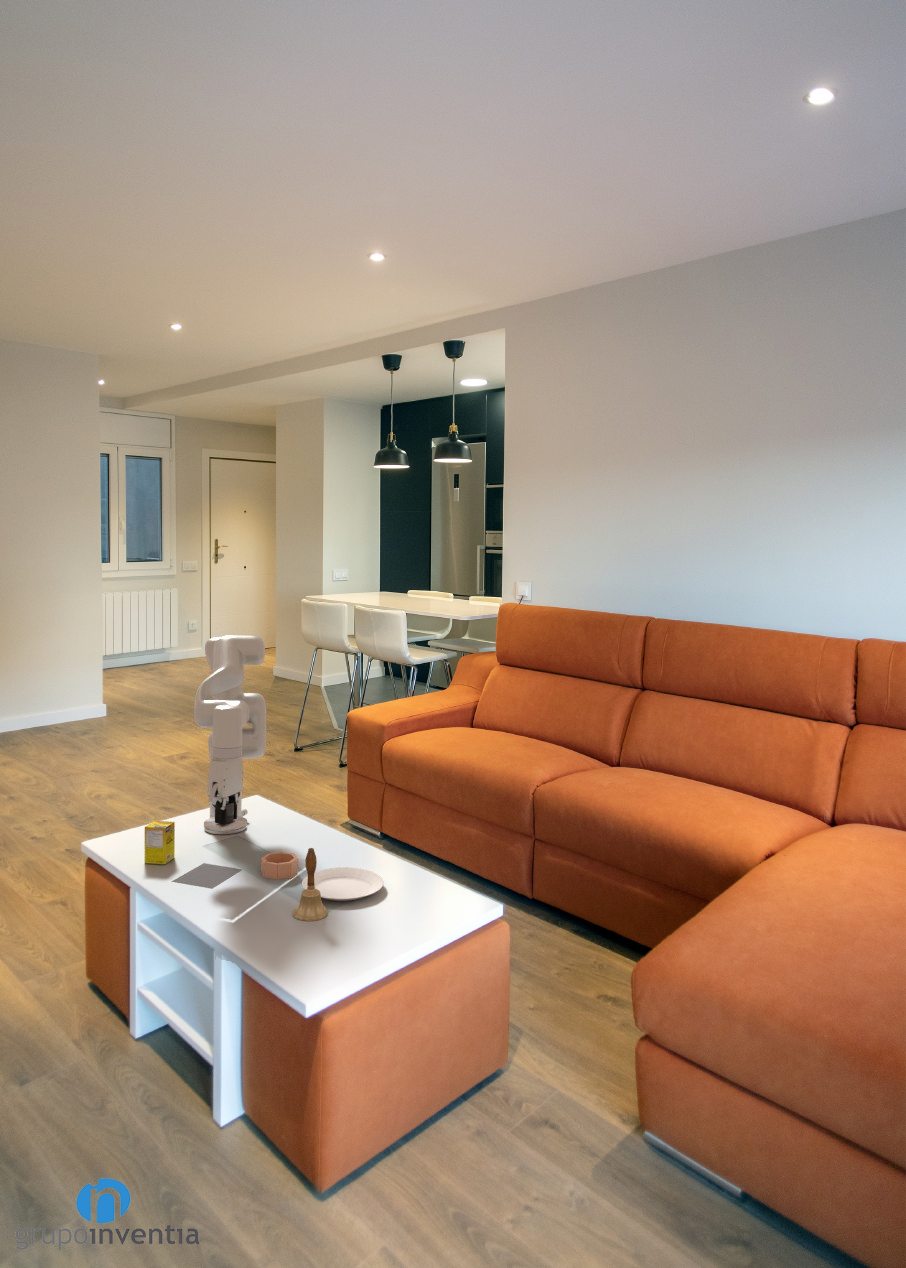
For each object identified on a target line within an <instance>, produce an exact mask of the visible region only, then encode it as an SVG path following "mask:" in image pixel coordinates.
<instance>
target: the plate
mask: <svg viewBox="0 0 906 1268" xmlns="http://www.w3.org/2000/svg"><path fill="white" fill-rule="evenodd" d="M307 883H308V875H306V876H305V877H304V878H303V879H302V882H301V887H302V889H303V891H304V890H305V889H307V887H308V885H307ZM314 883H315V889H318V890H319V891H320V894H321V899H324V900H328V901H337V902H346V901H349V902H350V901H354V900H359V899H362V898H365V897H367V896H370V895H373V894H375V893H377V892H379V891H380V890H381V889H382V888H383V886H384V884H385V883H384V879H383V877H381V876H380V875H379V874H378V873H376V872H374V871H371V870H368V869H363V868H359V867H344V866H343V867H332V868H330V867H329V868H325V869H320V870H317V871H315V873H314Z"/></svg>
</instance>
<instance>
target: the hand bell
mask: <svg viewBox="0 0 906 1268" xmlns="http://www.w3.org/2000/svg"><path fill="white" fill-rule="evenodd" d="M316 868H317V855H316V851H315V848H314V847H310V848H308V849H307V853H306V857H305V869H306V872H307V873H306V874H307V876H308V883H307V885H308V887H307V889H305V890H304V889H303V890H302V892H301V895H300V901H299V904H298V906H297V907H296V908H295V909H294V910H293V912H292V916H293V917H294V919H296V920H299V921H303V922H315V921H320V920H322V919H324V918H326V917H327V916H328V915H329V911H328V909H327V908H326V907H325V905H324V904H323V901H322V898H321V894H320V891H319V890H318V889H315V883H314V873H315V872H316Z"/></svg>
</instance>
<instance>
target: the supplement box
mask: <svg viewBox="0 0 906 1268" xmlns="http://www.w3.org/2000/svg"><path fill="white" fill-rule="evenodd" d="M175 824H176V823H175V821H167V820H165V821H164V820H153V821H152V822H150V823H148V824H146V825H145V826H144V864H145V865H153V866H166V865H168V864H169V863H170V862H171V861H173V860H174V859H175V848H176V847H175V846H176V844H175V834H176V833H175V826H176V825H175Z"/></svg>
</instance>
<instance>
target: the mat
mask: <svg viewBox="0 0 906 1268" xmlns="http://www.w3.org/2000/svg"><path fill="white" fill-rule="evenodd" d="M242 870H243V869H242V868H236V867H229V866H224V865H217V864H211V863H206V862H203V863H202V864H200V865H198V866H197V867H195V868H193V869H191V870H190V871H187V872H185V873H183V874H182V875H180V876H178V877H177V878H175V879H174V880H173V879H172V881H171V882H174V883H177V884H185V885H190V886H195V887H201V888H207V889H214V888H216V887H217V886H219V885H221V884H222V883H224V882H225V881H227V880H228V879H230V878H231V877H233V876H235V875H236V874H238V873H239V872H242Z"/></svg>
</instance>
